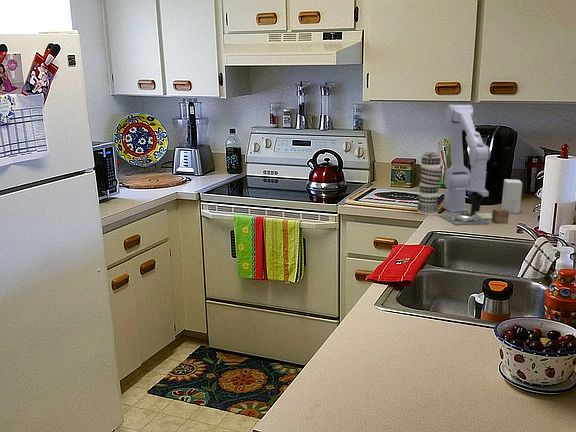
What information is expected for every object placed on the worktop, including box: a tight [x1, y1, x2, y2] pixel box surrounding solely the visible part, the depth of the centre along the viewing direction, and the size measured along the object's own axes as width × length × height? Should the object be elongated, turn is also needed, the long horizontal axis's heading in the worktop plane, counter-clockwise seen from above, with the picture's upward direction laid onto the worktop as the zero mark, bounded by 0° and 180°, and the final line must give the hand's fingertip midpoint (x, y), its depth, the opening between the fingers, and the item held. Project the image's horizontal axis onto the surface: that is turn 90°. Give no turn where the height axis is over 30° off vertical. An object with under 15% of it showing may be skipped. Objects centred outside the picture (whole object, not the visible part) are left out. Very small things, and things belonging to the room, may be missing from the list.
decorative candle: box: [417, 151, 443, 216], centre depth 253 cm, size 9×9×25 cm
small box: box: [500, 178, 524, 214], centre depth 259 cm, size 8×6×13 cm
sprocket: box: [448, 202, 481, 222], centre depth 243 cm, size 12×12×5 cm
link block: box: [491, 208, 510, 225], centre depth 241 cm, size 4×5×5 cm
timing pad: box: [477, 212, 492, 221], centre depth 249 cm, size 8×7×1 cm
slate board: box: [438, 213, 490, 226], centre depth 244 cm, size 15×14×1 cm
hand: (475, 211), depth 244 cm, fingers closed, pressing on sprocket
